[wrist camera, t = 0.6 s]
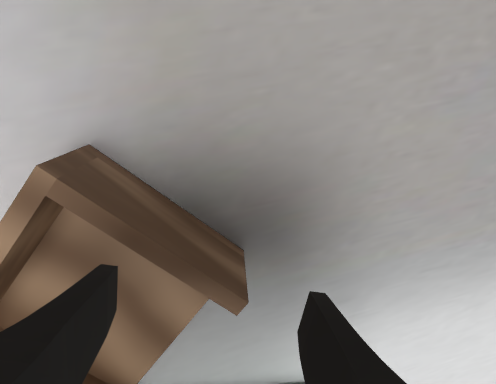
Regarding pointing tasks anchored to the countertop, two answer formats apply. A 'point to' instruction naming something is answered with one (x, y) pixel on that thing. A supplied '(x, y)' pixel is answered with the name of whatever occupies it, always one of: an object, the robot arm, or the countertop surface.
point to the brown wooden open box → (114, 257)
